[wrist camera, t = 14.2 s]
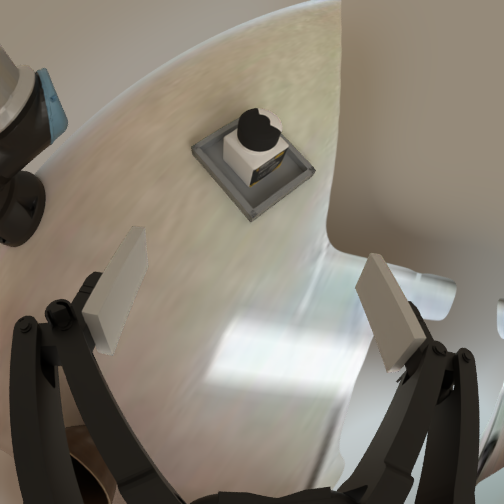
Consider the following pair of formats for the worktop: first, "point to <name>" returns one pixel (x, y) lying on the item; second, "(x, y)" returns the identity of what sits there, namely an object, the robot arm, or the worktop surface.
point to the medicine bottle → (255, 145)
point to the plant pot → (89, 467)
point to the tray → (264, 191)
